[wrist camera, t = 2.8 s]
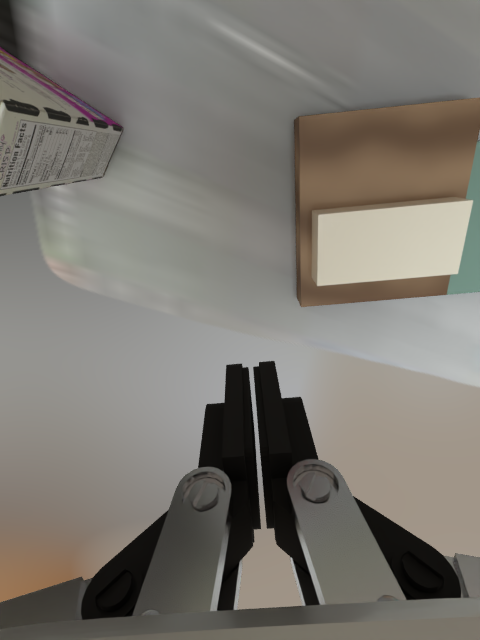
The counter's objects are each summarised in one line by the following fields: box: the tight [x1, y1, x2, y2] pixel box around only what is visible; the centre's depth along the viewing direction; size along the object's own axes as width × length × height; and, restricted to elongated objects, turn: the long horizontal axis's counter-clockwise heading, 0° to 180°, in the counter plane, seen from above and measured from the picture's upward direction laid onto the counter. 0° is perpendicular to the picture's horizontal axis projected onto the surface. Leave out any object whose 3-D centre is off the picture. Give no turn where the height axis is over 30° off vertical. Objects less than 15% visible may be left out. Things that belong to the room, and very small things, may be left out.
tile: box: [312, 197, 473, 286], centre depth 28 cm, size 6×12×2 cm, turn 95°
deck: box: [294, 98, 480, 307], centre depth 30 cm, size 16×14×2 cm
